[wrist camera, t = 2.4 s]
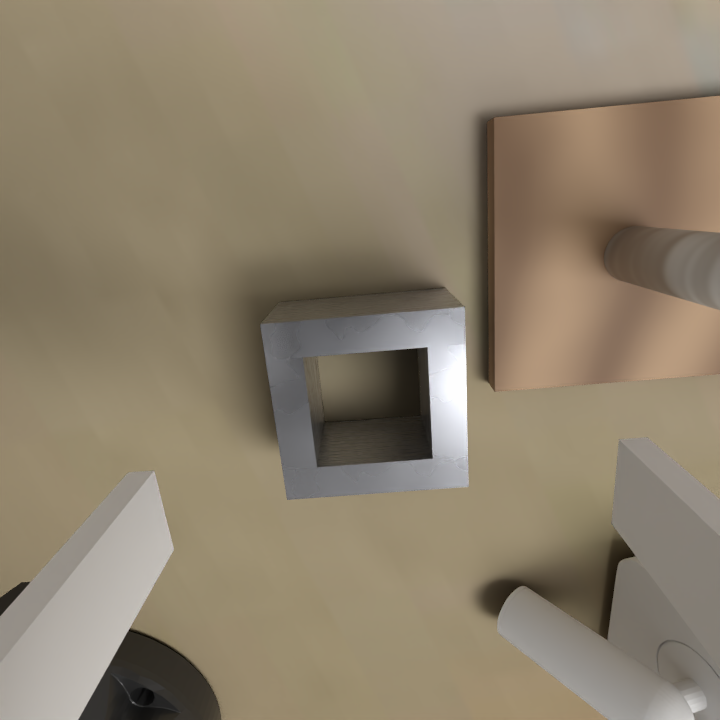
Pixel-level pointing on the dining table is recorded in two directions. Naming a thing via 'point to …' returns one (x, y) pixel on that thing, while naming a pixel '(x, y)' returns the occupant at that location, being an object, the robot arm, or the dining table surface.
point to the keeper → (604, 244)
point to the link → (371, 436)
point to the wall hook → (620, 652)
